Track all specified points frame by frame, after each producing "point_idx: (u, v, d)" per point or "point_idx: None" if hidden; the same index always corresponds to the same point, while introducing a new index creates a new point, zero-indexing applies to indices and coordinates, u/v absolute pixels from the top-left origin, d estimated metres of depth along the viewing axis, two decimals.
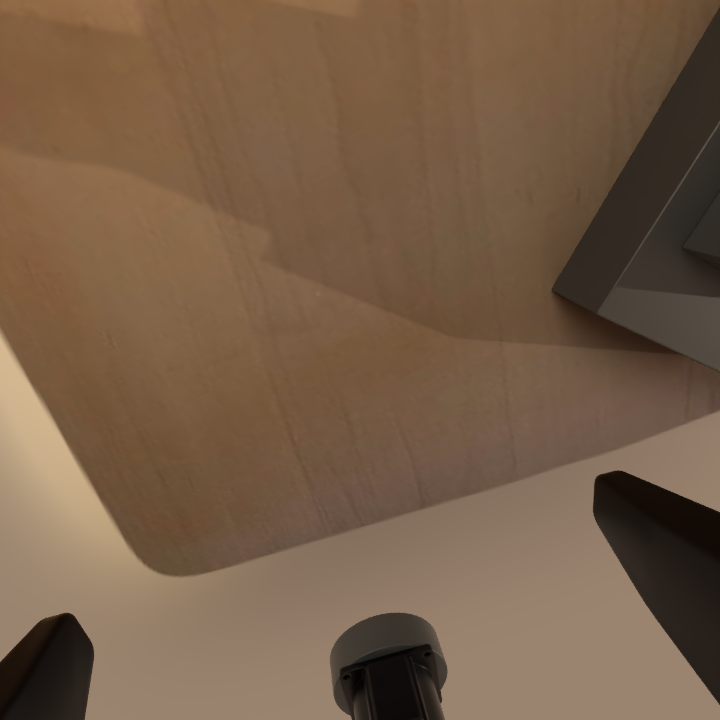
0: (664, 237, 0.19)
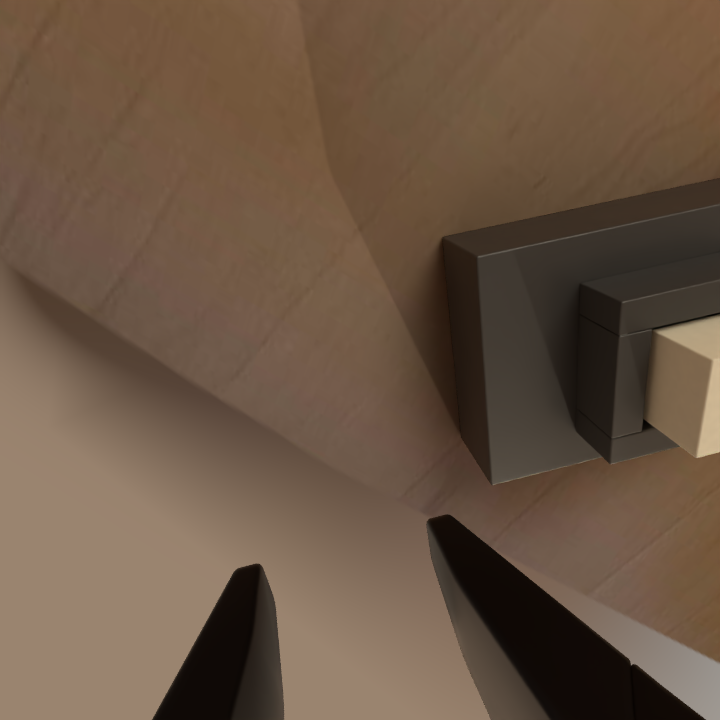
0: (581, 256, 0.17)
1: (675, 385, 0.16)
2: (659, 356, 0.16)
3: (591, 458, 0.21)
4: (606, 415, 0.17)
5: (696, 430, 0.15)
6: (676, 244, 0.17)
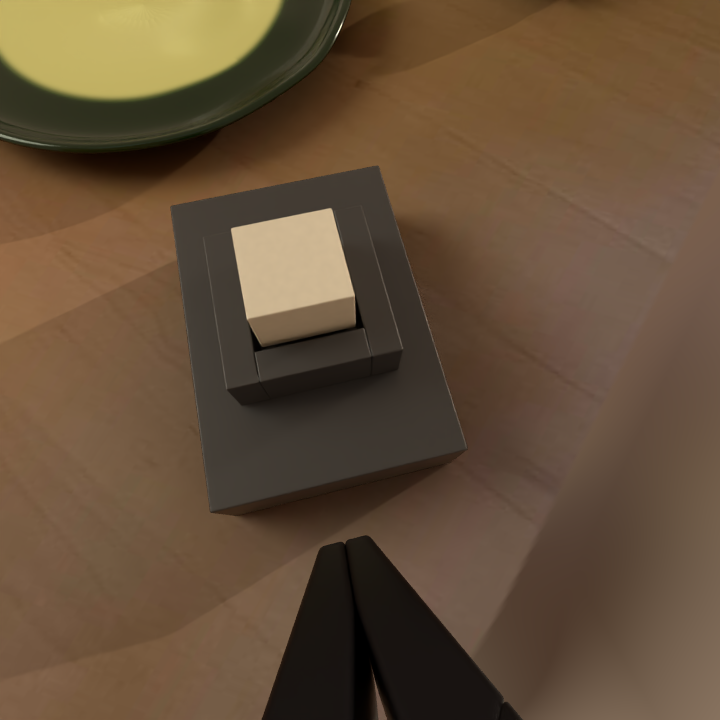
0: (216, 411, 0.19)
1: (296, 325, 0.17)
2: (280, 337, 0.17)
3: (432, 343, 0.20)
4: (350, 365, 0.18)
5: (325, 304, 0.16)
6: (213, 326, 0.20)
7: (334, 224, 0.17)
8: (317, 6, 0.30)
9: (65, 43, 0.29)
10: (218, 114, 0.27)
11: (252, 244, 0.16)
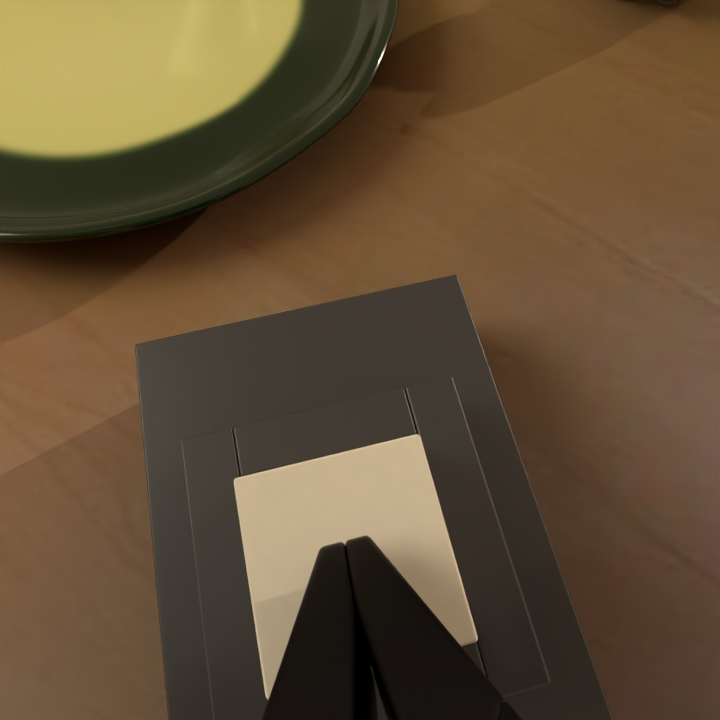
0: None
1: None
2: None
3: (568, 601, 0.12)
4: None
5: None
6: None
7: (427, 471, 0.09)
8: (348, 23, 0.22)
9: (1, 75, 0.21)
10: (212, 180, 0.19)
11: (274, 517, 0.09)
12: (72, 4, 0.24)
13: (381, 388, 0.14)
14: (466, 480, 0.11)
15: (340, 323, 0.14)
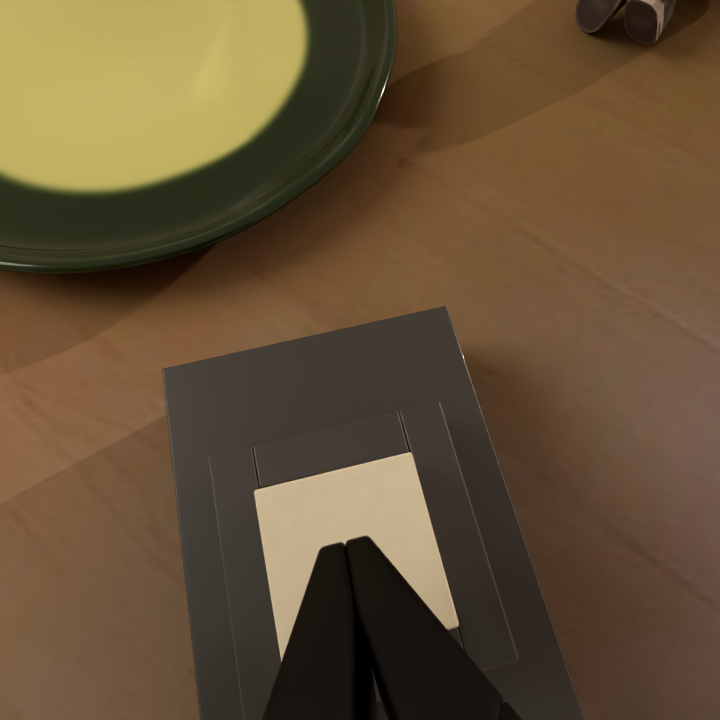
0: (228, 714, 0.13)
1: None
2: None
3: (539, 594, 0.14)
4: None
5: None
6: (222, 566, 0.14)
7: (418, 484, 0.11)
8: (349, 65, 0.24)
9: (31, 114, 0.23)
10: (226, 214, 0.21)
11: (289, 523, 0.10)
12: (94, 44, 0.26)
13: (379, 408, 0.16)
14: (450, 491, 0.13)
15: (343, 350, 0.16)
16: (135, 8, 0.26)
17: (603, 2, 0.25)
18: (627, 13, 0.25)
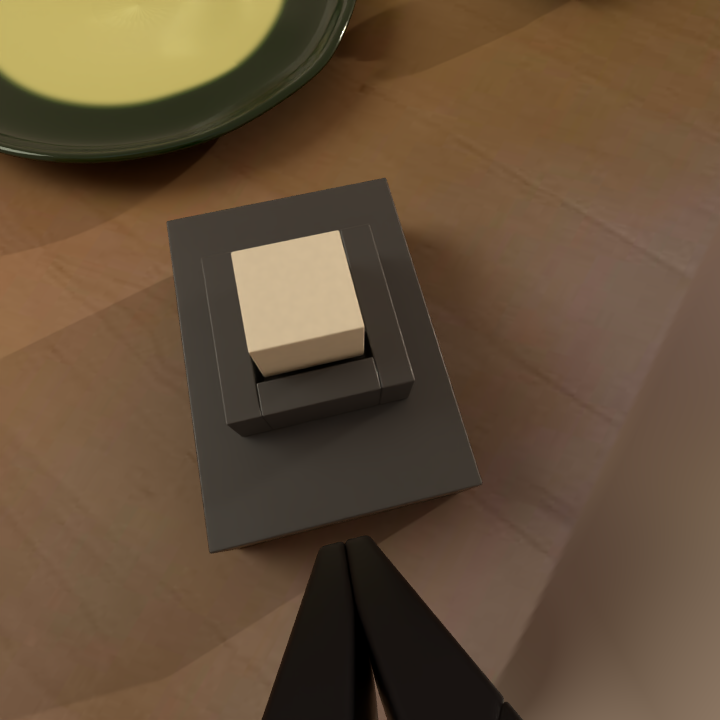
0: (216, 442, 0.18)
1: (301, 355, 0.16)
2: (284, 368, 0.16)
3: (443, 369, 0.19)
4: (358, 397, 0.17)
5: (332, 335, 0.15)
6: (211, 351, 0.19)
7: (342, 248, 0.16)
8: (320, 7, 0.29)
9: (56, 45, 0.28)
10: (217, 121, 0.26)
11: (254, 270, 0.15)
12: None
13: None
14: (373, 279, 0.18)
15: (305, 208, 0.21)
16: None
17: None
18: None
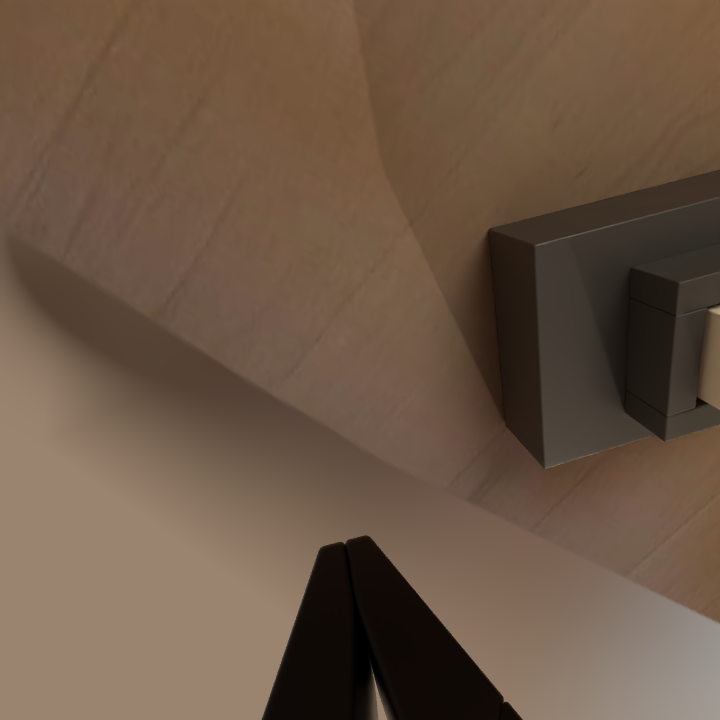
0: (632, 241, 0.17)
1: None
2: (714, 334, 0.17)
3: (639, 438, 0.21)
4: (660, 394, 0.18)
5: None
6: None
7: None
8: None
9: None
10: None
11: None
12: None
13: None
14: None
15: None
16: None
17: None
18: None
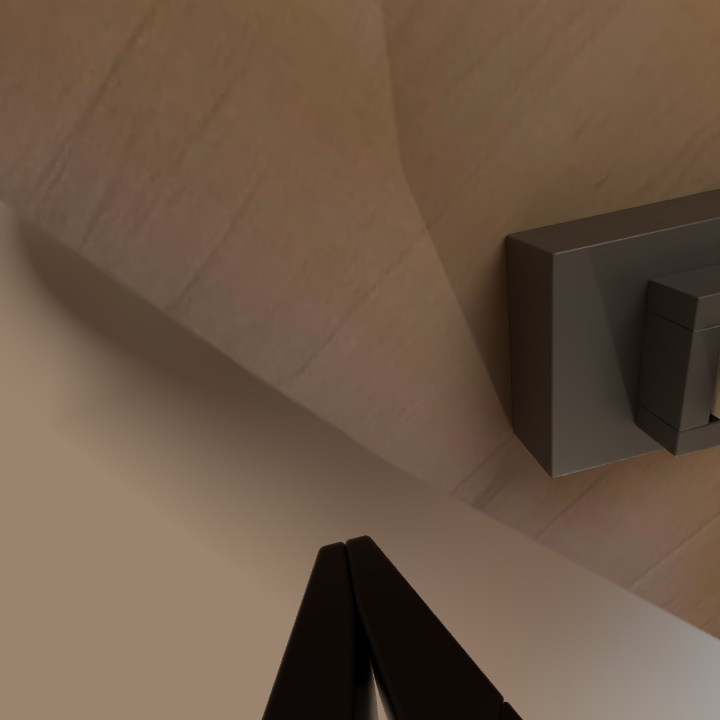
0: (651, 253, 0.17)
1: None
2: None
3: (648, 451, 0.21)
4: (673, 408, 0.18)
5: None
6: None
7: None
8: None
9: None
10: None
11: None
12: None
13: None
14: None
15: None
16: None
17: None
18: None
